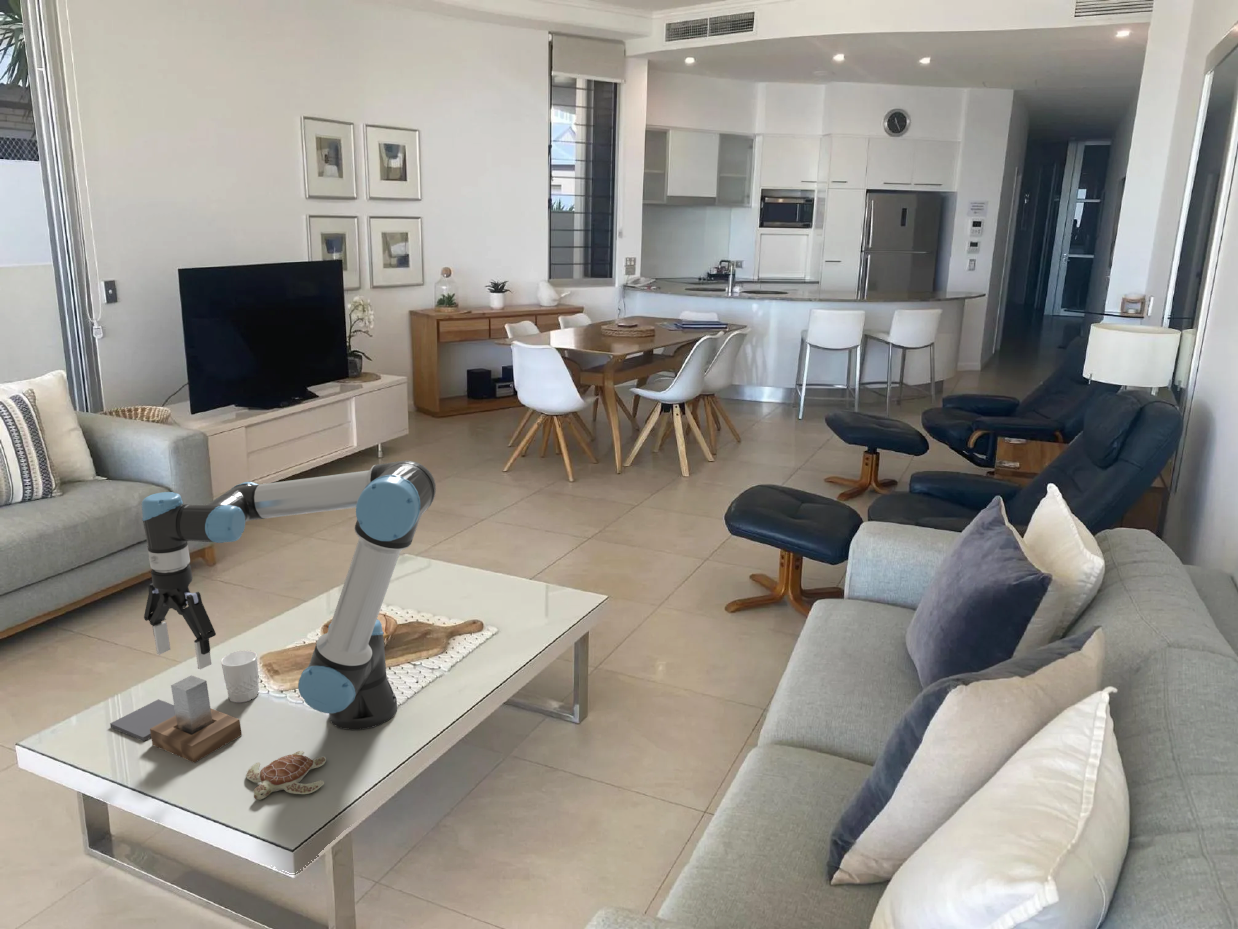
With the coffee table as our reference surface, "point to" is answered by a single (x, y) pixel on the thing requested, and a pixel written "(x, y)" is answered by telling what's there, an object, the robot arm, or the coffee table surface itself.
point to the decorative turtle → (285, 775)
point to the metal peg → (191, 704)
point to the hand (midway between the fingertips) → (184, 659)
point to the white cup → (241, 675)
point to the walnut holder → (196, 736)
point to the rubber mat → (144, 719)
